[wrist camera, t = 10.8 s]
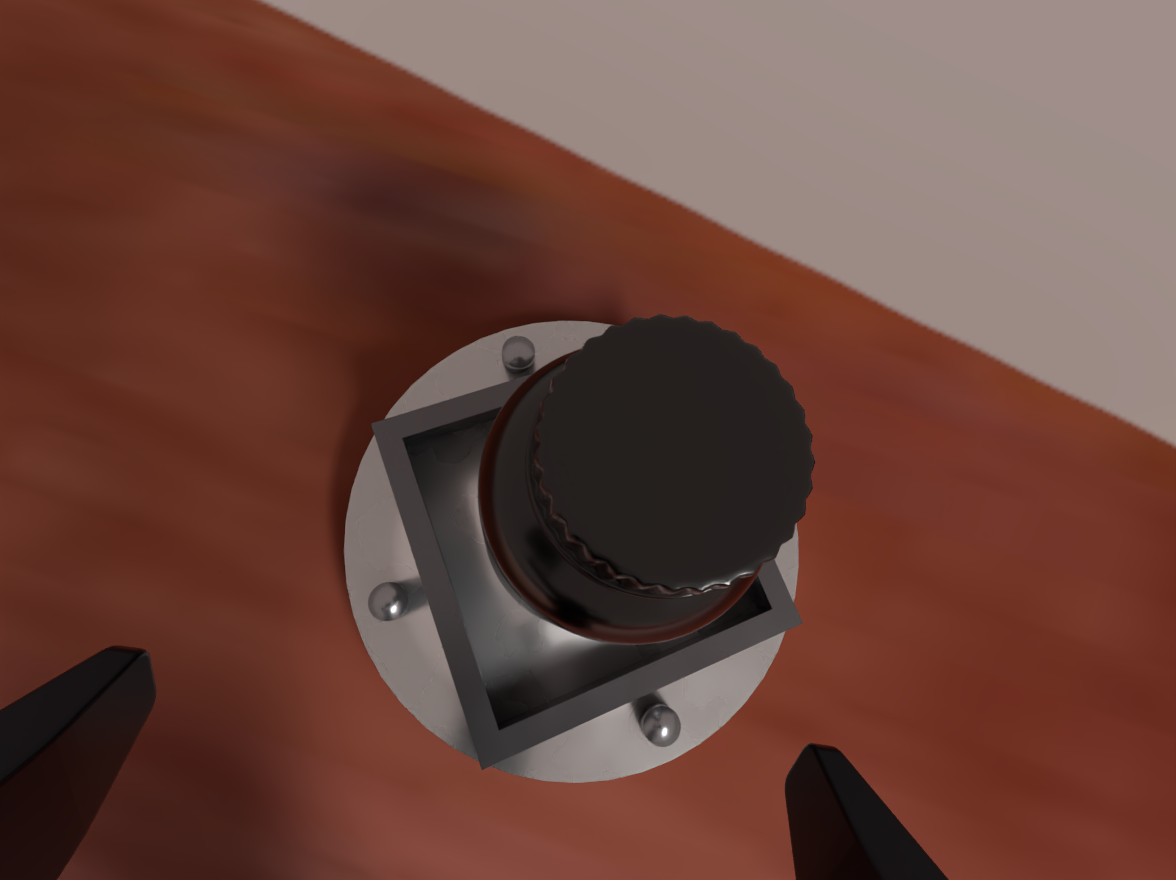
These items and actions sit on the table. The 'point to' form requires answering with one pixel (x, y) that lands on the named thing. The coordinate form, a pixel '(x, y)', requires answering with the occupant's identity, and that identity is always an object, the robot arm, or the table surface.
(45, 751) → the robot arm
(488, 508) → the supplement bottle
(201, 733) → the table surface
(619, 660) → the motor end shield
